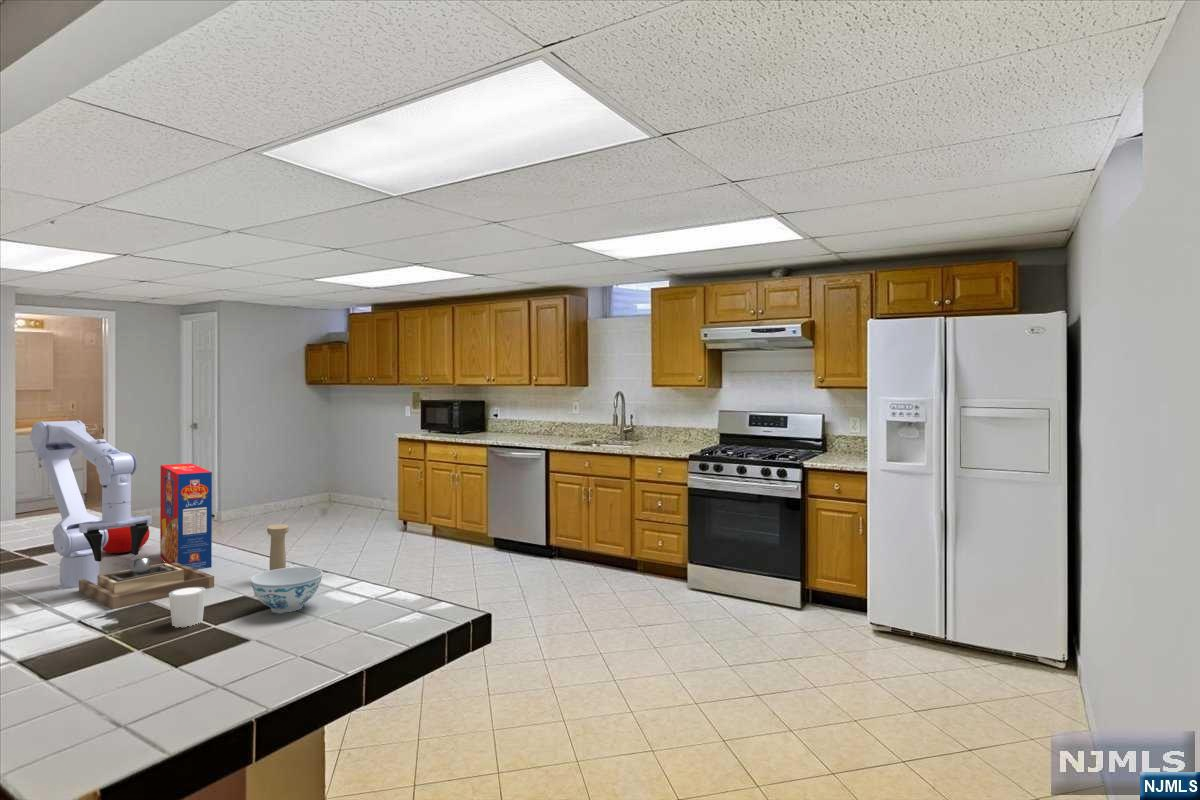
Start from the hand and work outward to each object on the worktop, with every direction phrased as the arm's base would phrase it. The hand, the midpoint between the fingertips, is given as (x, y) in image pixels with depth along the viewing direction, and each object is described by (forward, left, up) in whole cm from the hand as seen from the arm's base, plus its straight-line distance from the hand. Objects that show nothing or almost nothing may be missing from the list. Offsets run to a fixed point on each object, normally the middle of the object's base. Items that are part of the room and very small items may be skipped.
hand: (116, 557), depth 161 cm
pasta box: (-19, +23, -10) cm, 31 cm away
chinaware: (+42, +20, -10) cm, 47 cm away
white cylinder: (+34, +2, -10) cm, 35 cm away
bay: (+4, +5, -9) cm, 12 cm away
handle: (+21, +29, -10) cm, 37 cm away
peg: (0, +5, -7) cm, 9 cm away
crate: (+1, +5, -8) cm, 10 cm away
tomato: (-50, +18, -10) cm, 54 cm away
